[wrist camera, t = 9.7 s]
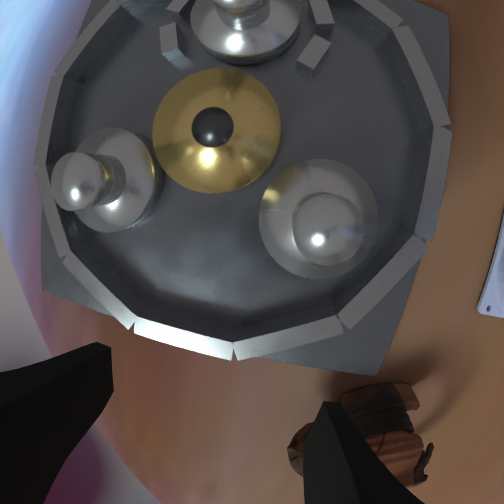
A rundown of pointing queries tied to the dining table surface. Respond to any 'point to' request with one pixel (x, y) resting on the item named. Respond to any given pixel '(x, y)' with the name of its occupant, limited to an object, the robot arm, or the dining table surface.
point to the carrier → (247, 178)
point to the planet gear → (246, 28)
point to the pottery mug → (380, 430)
